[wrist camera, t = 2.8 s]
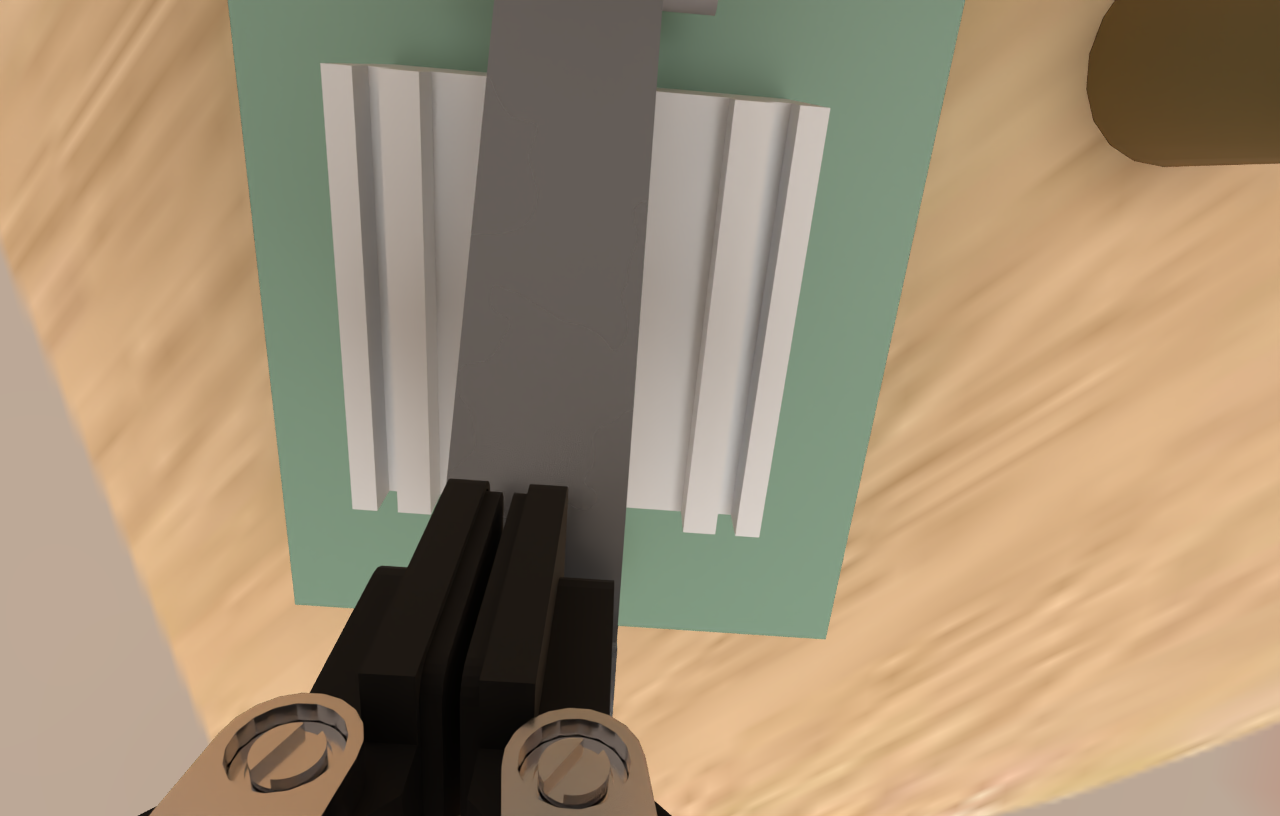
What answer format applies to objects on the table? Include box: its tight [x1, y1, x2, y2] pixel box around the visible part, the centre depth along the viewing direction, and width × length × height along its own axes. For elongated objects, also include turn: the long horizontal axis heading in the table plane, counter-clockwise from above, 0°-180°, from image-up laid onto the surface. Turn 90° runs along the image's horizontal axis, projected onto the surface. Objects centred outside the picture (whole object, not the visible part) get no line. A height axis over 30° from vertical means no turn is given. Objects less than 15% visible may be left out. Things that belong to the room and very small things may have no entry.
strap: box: [446, 0, 663, 717], centre depth 14 cm, size 13×3×2 cm, turn 175°
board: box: [228, 0, 965, 639], centre depth 21 cm, size 24×18×8 cm
